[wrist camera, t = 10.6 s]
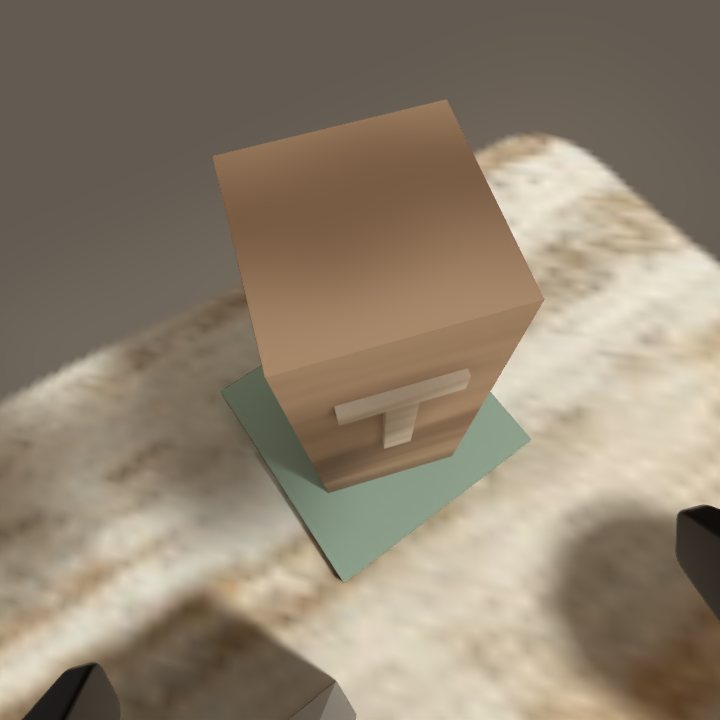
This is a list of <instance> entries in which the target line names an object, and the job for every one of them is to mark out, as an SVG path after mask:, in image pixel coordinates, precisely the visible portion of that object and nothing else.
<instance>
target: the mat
mask: <svg viewBox="0 0 720 720" xmlns="http://www.w3.org/2000/svg"><path fill="white" fill-rule="evenodd" d="M221 393H222V395H223V396H224V398H225V399H226V401H227V402H228V404H229V405H230V407H231V409H232V410H233V412H234V413H235V415H236V416H237V418H238V419H239V421H240V422H241V424H242V426H243V427H244V429H245V430H246V432H247V433H248V435H249V436H250V438H251V440H252V441H253V443H254V444H255V446H256V447H257V449H258V450H259V452H260V454H261V455H262V457H263V458H264V460H265V461H266V463H267V464H268V466H269V468H270V469H271V471H272V472H273V474H274V475H275V477H276V478H277V480H278V482H279V483H280V485H281V486H282V488H283V489H284V491H285V492H286V494H287V496H288V497H289V499H290V500H291V502H292V503H293V505H294V506H295V508H296V510H297V511H298V513H299V514H300V516H301V517H302V519H303V520H304V522H305V524H306V525H307V527H308V528H309V530H310V531H311V533H312V534H313V536H314V538H315V539H316V541H317V542H318V544H319V545H320V547H321V548H322V550H323V552H324V553H325V555H326V556H327V558H328V559H329V561H330V562H331V564H332V566H333V567H334V569H335V570H336V572H337V573H338V575H339V576H340V578H341V580H342V581H343V583H345V582H346V581H347V580H349V579H350V578H351V577H353V576H354V575H355V574H357V573H358V572H359V571H360V570H362V569H363V568H364V567H366V566H367V565H368V564H370V563H371V562H372V561H374V560H375V559H376V558H378V557H379V556H380V555H381V554H383V553H384V552H385V551H387V550H388V549H389V548H391V547H392V546H393V545H395V544H396V543H397V542H398V541H400V540H401V539H402V538H404V537H405V536H406V535H408V534H409V533H410V532H412V531H413V530H414V529H415V528H417V527H418V526H419V525H421V524H422V523H423V522H425V521H426V520H427V519H429V518H430V517H431V516H432V515H434V514H435V513H436V512H438V511H439V510H440V509H442V508H443V507H444V506H446V505H447V504H448V503H449V502H451V501H452V500H453V499H455V498H456V497H457V496H459V495H460V494H461V493H463V492H464V491H465V490H466V489H468V488H469V487H470V486H472V485H473V484H474V483H476V482H477V481H478V480H480V479H481V478H482V477H483V476H485V475H486V474H487V473H489V472H490V471H491V470H493V469H494V468H495V467H497V466H498V465H499V464H500V463H502V462H503V461H504V460H506V459H507V458H508V457H510V456H511V455H512V454H514V453H515V452H516V451H517V450H519V449H520V448H521V447H523V446H524V445H525V444H527V443H528V442H529V441H530V440H531V438H530V437H529V436H528V435H527V434H526V433H525V432H524V430H523V429H522V428H521V427H520V426H519V425H518V423H517V422H516V421H515V420H514V419H513V418H512V416H511V415H510V414H509V413H508V412H507V411H506V409H505V408H504V407H503V406H502V405H501V404H500V403H499V401H498V400H497V399H496V398H495V397H494V396H493V394H492V393H491V392H490V393H489V394H488V396H487V398H486V399H485V401H484V403H483V404H482V406H481V408H480V410H479V411H478V413H477V415H476V416H475V418H474V420H473V421H472V423H471V425H470V427H469V428H468V430H467V432H466V433H465V435H464V437H463V438H462V440H461V442H460V443H459V445H458V447H457V449H456V450H455V452H454V454H453V455H452V456H451V457H448V458H444V459H441V460H438V461H434V462H431V463H428V464H424V465H421V466H418V467H414V468H411V469H408V470H404V471H401V472H398V473H394V474H391V475H388V476H384V477H381V478H378V479H374V480H371V481H368V482H364V483H361V484H358V485H354V486H351V487H348V488H344V489H341V490H338V491H334V492H331V493H328V491H327V489H326V488H325V486H324V484H323V482H322V480H321V478H320V477H319V475H318V473H317V471H316V469H315V468H314V466H313V464H312V462H311V460H310V458H309V457H308V455H307V453H306V451H305V449H304V448H303V446H302V444H301V442H300V440H299V438H298V437H297V435H296V433H295V431H294V429H293V428H292V426H291V424H290V422H289V420H288V418H287V417H286V415H285V413H284V411H283V409H282V408H281V406H280V404H279V402H278V400H277V398H276V397H275V395H274V393H273V391H272V389H271V388H270V386H269V384H268V382H267V380H266V378H265V376H264V371H263V367H262V365H261V366H260V367H258V368H257V369H255V370H253V371H252V372H250V373H249V374H247V375H246V376H244V377H243V378H241V379H239V380H238V381H236V382H235V383H233V384H232V385H230V386H229V387H227V388H225V389H224V390H222V391H221Z"/></svg>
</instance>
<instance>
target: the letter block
mask: <svg viewBox="0 0 720 720" xmlns="http://www.w3.org/2000/svg"><path fill="white" fill-rule="evenodd" d="M213 160H214V164H215V168H216V173H217V177H218V181H219V185H220V189H221V194H222V198H223V202H224V206H225V211H226V215H227V219H228V223H229V227H230V232H231V236H232V240H233V244H234V249H235V253H236V257H237V261H238V266H239V270H240V274H241V278H242V283H243V287H244V291H245V295H246V299H247V304H248V308H249V312H250V316H251V321H252V325H253V329H254V333H255V338H256V342H257V346H258V350H259V354H260V359H261V363H262V367H263V371H264V376H265V378H266V380H267V382H268V384H269V386H270V388H271V389H272V391H273V393H274V395H275V397H276V398H277V400H278V402H279V404H280V406H281V408H282V409H283V411H284V413H285V415H286V417H287V418H288V420H289V422H290V424H291V426H292V428H293V429H294V431H295V433H296V435H297V437H298V438H299V440H300V442H301V444H302V446H303V448H304V449H305V451H306V453H307V455H308V457H309V458H310V460H311V462H312V464H313V466H314V468H315V469H316V471H317V473H318V475H319V477H320V478H321V480H322V482H323V484H324V486H325V488H326V489H327V491H328V493H331V492H334V491H338V490H341V489H344V488H348V487H351V486H354V485H358V484H361V483H364V482H368V481H371V480H374V479H378V478H381V477H384V476H388V475H391V474H394V473H398V472H401V471H404V470H408V469H411V468H414V467H418V466H421V465H424V464H428V463H431V462H434V461H438V460H441V459H444V458H448V457H451V456H452V455H453V454H454V452H455V450H456V449H457V447H458V445H459V443H460V442H461V440H462V438H463V437H464V435H465V433H466V432H467V430H468V428H469V427H470V425H471V423H472V421H473V420H474V418H475V416H476V415H477V413H478V411H479V410H480V408H481V406H482V404H483V403H484V401H485V399H486V398H487V396H488V394H489V393H490V391H491V389H492V387H493V386H494V384H495V382H496V381H497V379H498V377H499V376H500V374H501V372H502V370H503V369H504V367H505V365H506V364H507V362H508V360H509V359H510V357H511V355H512V354H513V352H514V350H515V348H516V347H517V345H518V343H519V342H520V340H521V338H522V337H523V335H524V333H525V331H526V330H527V328H528V326H529V325H530V323H531V321H532V320H533V318H534V316H535V314H536V313H537V311H538V309H539V308H540V306H541V304H542V303H543V301H544V298H543V296H542V294H541V292H540V290H539V288H538V286H537V284H536V282H535V280H534V278H533V275H532V273H531V271H530V269H529V267H528V265H527V263H526V261H525V259H524V257H523V255H522V253H521V251H520V249H519V247H518V245H517V243H516V241H515V239H514V237H513V234H512V232H511V230H510V228H509V226H508V224H507V222H506V220H505V218H504V216H503V214H502V212H501V210H500V208H499V206H498V204H497V202H496V200H495V198H494V196H493V194H492V191H491V189H490V187H489V185H488V183H487V181H486V179H485V177H484V175H483V173H482V171H481V169H480V167H479V165H478V163H477V161H476V159H475V157H474V155H473V153H472V150H471V148H470V146H469V144H468V142H467V140H466V138H465V137H464V134H463V132H462V130H461V128H460V126H459V124H458V122H457V120H456V118H455V116H454V114H453V112H452V110H451V107H450V106H449V103H448V101H447V100H442V101H438V102H434V103H430V104H426V105H422V106H417V107H413V108H409V109H405V110H401V111H397V112H393V113H389V114H385V115H381V116H376V117H372V118H368V119H364V120H360V121H356V122H352V123H347V124H344V125H339V126H335V127H331V128H327V129H323V130H319V131H315V132H310V133H307V134H302V135H298V136H294V137H290V138H286V139H281V140H277V141H274V142H269V143H265V144H261V145H257V146H253V147H249V148H244V149H240V150H236V151H232V152H228V153H224V154H220V155H216V156H213Z"/></svg>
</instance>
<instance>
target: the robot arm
mask: <svg viewBox="0 0 720 720" xmlns="http://www.w3.org/2000/svg"><path fill="white" fill-rule="evenodd" d="M675 552H676V557H677V560H678V562H679V564H680V566H681V567H682V569H683V570H684V572H685V573H686V575H687V576H688V578H689V579H690V581H691V582H692V584H693V585H694V586H695V588H696V589H697V591H698V592H699V594H700V595H701V597H702V598H703V599H704V601H705V602H706V604H707V605H708V607H709V608H710V610H711V611H712V613H713V614H714V615H715V617H716V618H717V620H718V621H719V623H720V509H718V508H715V507H712V506H709V505H698V506H695V507H691V508H687V509H683V510H681V511H680V512H679V513H678V515H677V523H676V544H675ZM22 720H120V703H119V699H118V696H117V694H116V693H115V691H114V689H113V687H112V685H111V683H110V681H109V679H108V677H107V676H106V674H105V672H104V670H103V668H102V667H101V665H100V664H98V663H96V662H91V663H87V664H84V665H80V666H76V667H72V668H70V669H68V670H66V671H65V672H64V673H63V674H62V675H61V676H60V677H59V678H58V679H57V680H56V682H55V683H54V684H53V685H52V686H51V687H50V688H49V690H48V691H47V692H46V693H45V694H44V695H43V696H42V698H41V699H40V700H39V701H38V702H37V703H36V704H35V705H34V707H33V708H32V709H31V710H30V711H29V712H28V713H27V715H26V716H25V717H24V718H23V719H22Z"/></svg>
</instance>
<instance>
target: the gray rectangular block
mask: <svg viewBox="0 0 720 720" xmlns="http://www.w3.org/2000/svg"><path fill="white" fill-rule="evenodd" d="M288 720H356V713H355V711H354V710H353V708H352V706H351V705H350V703H349V701H348V700H347V698H346V696H345V695H344V693H343V691H342V690H341V688H340V686H339V685H338V683H337V681H336V682H334V683H333V684H332V685H331V686H329V687H328V688H327V689H326V690H324V691H323V692H322V693H321V694H319V695H318V696H317V697H316V698H314V699H313V700H312V701H311V702H309V703H308V704H307V705H306V706H304V707H303V708H302V709H301V710H300V711H298V712H297V713H296V714H295V715H293V716H292V717H291V718H290V719H288Z"/></svg>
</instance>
